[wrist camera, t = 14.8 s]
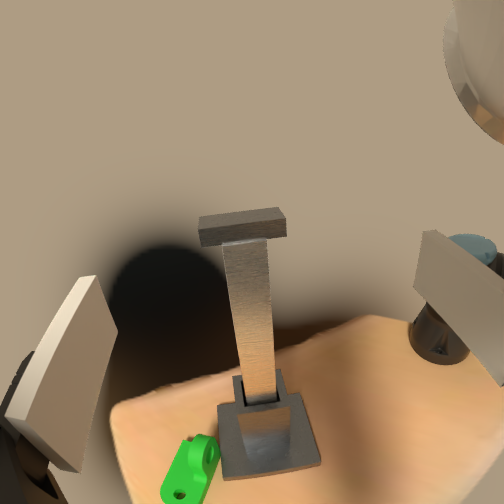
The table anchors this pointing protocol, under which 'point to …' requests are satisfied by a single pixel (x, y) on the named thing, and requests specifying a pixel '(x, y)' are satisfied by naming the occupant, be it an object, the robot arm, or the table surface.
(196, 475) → the mechanical part
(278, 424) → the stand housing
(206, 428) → the table surface
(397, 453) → the table surface
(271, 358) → the column
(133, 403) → the table surface
